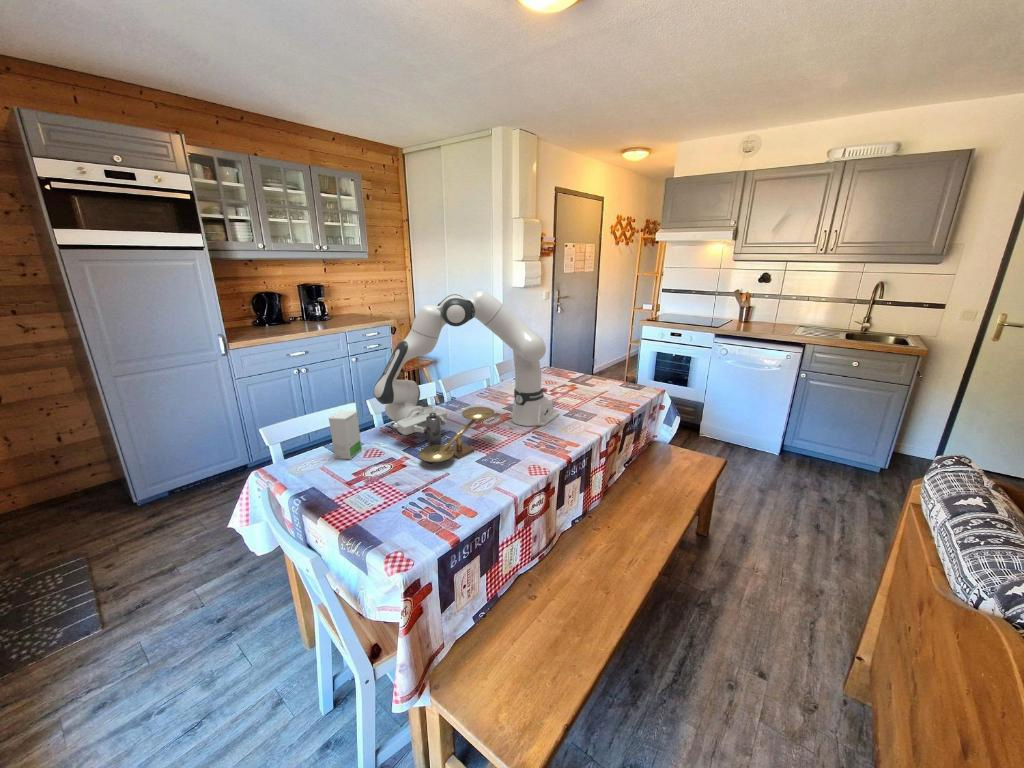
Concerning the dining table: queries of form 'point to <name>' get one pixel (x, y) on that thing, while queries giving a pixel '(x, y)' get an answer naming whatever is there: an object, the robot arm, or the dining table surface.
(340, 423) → the skincare box
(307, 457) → the dining table surface
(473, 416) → the balance
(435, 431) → the iron weight
